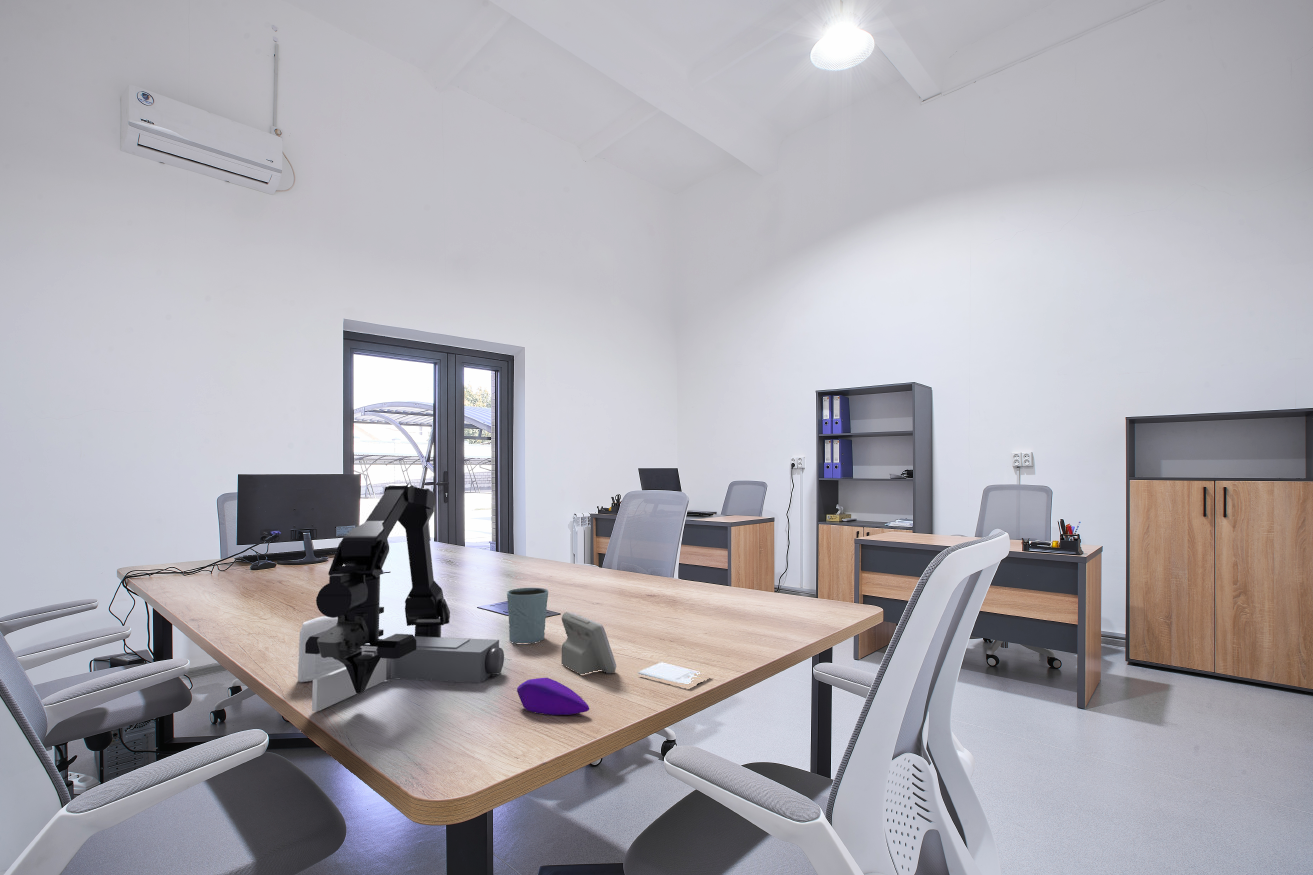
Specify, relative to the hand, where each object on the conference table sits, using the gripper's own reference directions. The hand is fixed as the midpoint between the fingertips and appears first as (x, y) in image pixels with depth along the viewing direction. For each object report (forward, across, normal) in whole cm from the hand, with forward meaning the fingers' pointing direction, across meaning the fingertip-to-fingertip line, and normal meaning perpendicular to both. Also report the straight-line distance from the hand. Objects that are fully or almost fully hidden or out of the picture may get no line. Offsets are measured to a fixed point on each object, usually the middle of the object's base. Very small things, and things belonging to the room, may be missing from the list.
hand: (360, 692), depth 107 cm
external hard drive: (+4, +53, +26) cm, 59 cm away
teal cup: (+3, +12, +47) cm, 48 cm away
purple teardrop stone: (+3, +34, +5) cm, 35 cm away
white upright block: (+3, -18, +13) cm, 22 cm away
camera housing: (+3, +5, +20) cm, 21 cm away
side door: (+2, -5, +5) cm, 8 cm away
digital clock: (+3, +33, +29) cm, 44 cm away
